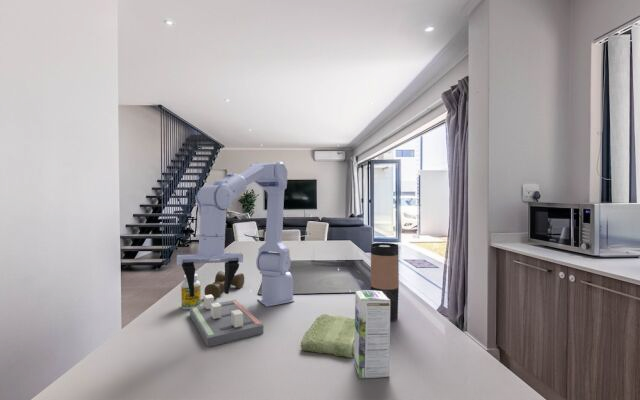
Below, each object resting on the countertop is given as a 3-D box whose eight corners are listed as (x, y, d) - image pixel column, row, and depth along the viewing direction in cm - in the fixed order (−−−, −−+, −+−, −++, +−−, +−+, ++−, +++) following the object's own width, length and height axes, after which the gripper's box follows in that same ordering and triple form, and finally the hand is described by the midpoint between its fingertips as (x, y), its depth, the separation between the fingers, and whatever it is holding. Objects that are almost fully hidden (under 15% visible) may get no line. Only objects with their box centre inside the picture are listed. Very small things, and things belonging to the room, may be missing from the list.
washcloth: (367, 327, 79) (367, 315, 79) (355, 362, 62) (355, 347, 62) (319, 321, 83) (319, 309, 83) (295, 353, 66) (295, 338, 66)
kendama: (196, 300, 101) (226, 281, 120) (224, 302, 99) (249, 283, 118) (197, 282, 100) (226, 266, 120) (224, 284, 99) (249, 268, 118)
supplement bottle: (198, 302, 96) (198, 272, 96) (202, 307, 92) (202, 275, 92) (180, 305, 93) (179, 274, 93) (183, 311, 89) (183, 278, 89)
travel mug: (400, 314, 87) (401, 243, 87) (395, 324, 80) (395, 247, 80) (374, 309, 90) (374, 242, 90) (367, 319, 83) (367, 245, 83)
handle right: (211, 304, 88) (211, 294, 88) (214, 307, 85) (214, 297, 85) (204, 306, 87) (204, 295, 87) (206, 309, 84) (206, 298, 84)
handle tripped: (239, 321, 76) (239, 309, 76) (243, 325, 73) (243, 313, 73) (231, 323, 75) (231, 311, 75) (234, 327, 72) (234, 314, 72)
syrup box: (353, 362, 61) (353, 290, 61) (382, 361, 62) (382, 289, 62) (359, 379, 55) (359, 299, 55) (391, 377, 56) (391, 298, 56)
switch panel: (235, 306, 93) (235, 299, 93) (263, 333, 74) (263, 324, 74) (189, 315, 86) (189, 307, 86) (207, 347, 67) (207, 337, 67)
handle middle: (218, 313, 81) (218, 302, 81) (221, 317, 78) (221, 305, 78) (210, 315, 80) (210, 303, 80) (213, 319, 77) (213, 307, 77)
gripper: (180, 236, 65) (176, 301, 64) (247, 236, 72) (244, 295, 71) (177, 234, 71) (174, 294, 70) (239, 235, 78) (237, 289, 77)
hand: (209, 294), depth 71 cm, fingers open, 7 cm apart
